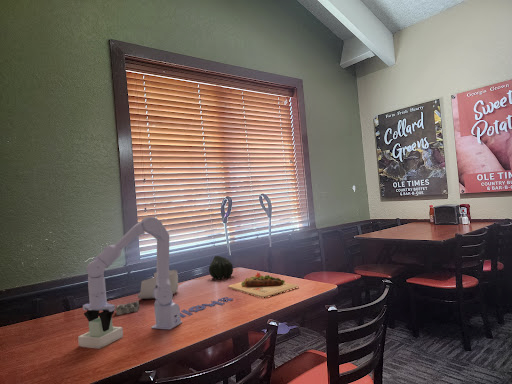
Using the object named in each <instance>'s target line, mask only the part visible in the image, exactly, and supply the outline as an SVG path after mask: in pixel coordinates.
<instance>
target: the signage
mask: <svg viewBox="0 0 512 384" xmlns="http://www.w3.org/2000/svg"><path fill="white" fill-rule="evenodd" d="M225 298H227V299H225ZM222 299H223V300H222ZM225 300H227V301H225ZM231 300H232V301H233V300H234V299H233V298H231V297H228V296H225V297H221V298H218V299H217V301H216V300H211V302H210V303H202V304H201V305H200V304H197V305H196V306H195V305H194V306H191V307H190V308H188V310H186V309H185V308H184V309H182V310H181V309H180V318H185V317H187V315H188V316H192V315H194V312H195V313H199V311H203V310H205V309H206V307H210V308H212V306H213V307H215V306H216V305H219V306H224V305H225V304H226V303H229V302H228V301H230V302H232V301H231ZM219 301H221V302H219ZM224 302H226V303H224ZM223 304H224V305H223ZM185 314H186V315H185Z"/></svg>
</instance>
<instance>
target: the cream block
mask: <svg viewBox="0 0 512 384" xmlns="http://www.w3.org/2000/svg"><path fill="white" fill-rule="evenodd" d="M156 278H157V271H156V272H154V273H153V276H152V277H151V278H148V279H144V280H141V283H140V284H141V285H140V292H138V295H137V298H138V299H143V300H144V299H147V300H148V299H155V298H154V296H153V290H154V288H155V282H156ZM169 281H170V289H171V291H172V293H173V295H174V294H175V293H177V291H178V289H179V276H178V270H176V269H169Z"/></svg>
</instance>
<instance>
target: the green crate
mask: <svg viewBox="0 0 512 384" xmlns="http://www.w3.org/2000/svg"><path fill="white" fill-rule="evenodd" d="M113 327H114V324H113V317H112V318H111V321H110V326H109V330H107V331H103V328H102V323H101V319H100V317H99V316H98V318H97V319H95V320H92V321H90V322H89V321H88V332H89V335H90V337H98V338H100V337H102V336H104V335H106V334H108V333H110V332H112V331H113Z"/></svg>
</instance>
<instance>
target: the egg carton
mask: <svg viewBox="0 0 512 384" xmlns="http://www.w3.org/2000/svg"><path fill="white" fill-rule="evenodd" d="M115 311H116V316H117V315H118V316H122V315H124V314H130V313H132V312H133V313H134V312H138V311H140V303H139V300H136V301H134V302H128V303H125V304H118V305H117V306H116V305H115V310H114V312H115Z"/></svg>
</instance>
